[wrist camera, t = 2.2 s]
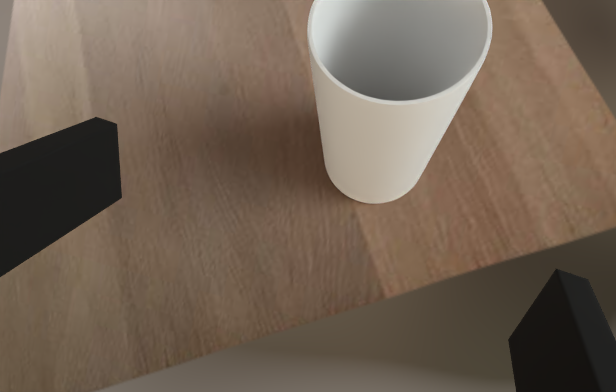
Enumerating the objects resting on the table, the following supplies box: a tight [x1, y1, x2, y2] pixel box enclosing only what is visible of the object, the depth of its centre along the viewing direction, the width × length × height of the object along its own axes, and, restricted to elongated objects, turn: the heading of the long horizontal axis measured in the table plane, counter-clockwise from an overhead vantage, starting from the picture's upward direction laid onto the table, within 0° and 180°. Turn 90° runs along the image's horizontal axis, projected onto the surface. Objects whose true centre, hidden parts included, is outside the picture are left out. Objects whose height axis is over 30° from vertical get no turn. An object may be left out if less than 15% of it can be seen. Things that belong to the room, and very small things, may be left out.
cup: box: [307, 0, 492, 204], centre depth 26 cm, size 8×8×16 cm
